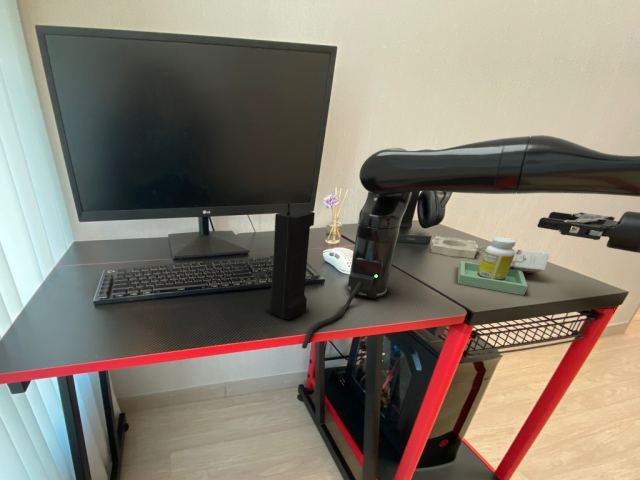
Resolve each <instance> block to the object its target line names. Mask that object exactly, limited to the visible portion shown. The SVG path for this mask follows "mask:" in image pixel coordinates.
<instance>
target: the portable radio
mask: <svg viewBox="0 0 640 480" xmlns="http://www.w3.org/2000/svg"><path fill="white" fill-rule="evenodd" d="M286 204H287V210H285V211H281V212H277V213H275V215H274V216H275V217H274V238H273V239H274V240H273V258H272V259H273V261H272V270H271V283H270V284H271V287H270V298H269V307H268V308H269V313H270V314H272V315H275V316H276V317H279V318H281V319H284V320H288V321H291V320H293V319H294V318H296V317H298V316H299V315H301V314H302V313H304V312H305V311H306V310H307V303H308V302H307V301H308V299H307V297H306V295H305V290H306V289H305V288H306V277H307V265H308V255H309V243H310V242H309V241H310V230H311V227H312V226H314V224H315V215H316V213H315V212H314V211H312V210H308V209H302V208H296V207H295V208H292V209H290V206H291V201H287V202H286Z"/></svg>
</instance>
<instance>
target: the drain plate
mask: <svg viewBox="0 0 640 480" xmlns="http://www.w3.org/2000/svg"><path fill="white" fill-rule="evenodd" d="M429 249H430V250H431V251H430V253H432V254H437V255H439V254H440V255H444V256H449V257H456V258H467V259H475V256H476V255H477V252H478V251H476V250H477V249H479V244H477V243H476V241H475V240H470V239H462V238H458V237H448V236H447V237H445V236H439V235H438V236H437V235H435V236H434V238H432V240H431V243H430V247H429Z"/></svg>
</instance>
